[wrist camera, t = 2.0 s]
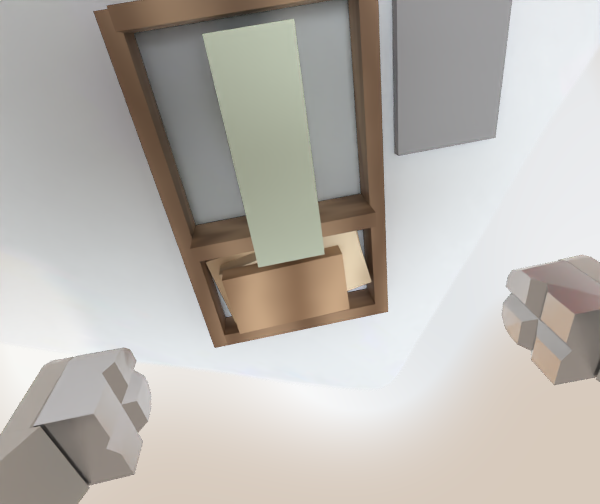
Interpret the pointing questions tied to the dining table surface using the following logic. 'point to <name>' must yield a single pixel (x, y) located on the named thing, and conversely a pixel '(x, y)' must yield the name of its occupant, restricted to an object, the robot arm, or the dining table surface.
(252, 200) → the pale green cuboid
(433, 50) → the slate pad
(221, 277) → the offcut stack
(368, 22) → the frame
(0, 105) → the dining table surface
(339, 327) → the dining table surface
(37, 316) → the dining table surface
